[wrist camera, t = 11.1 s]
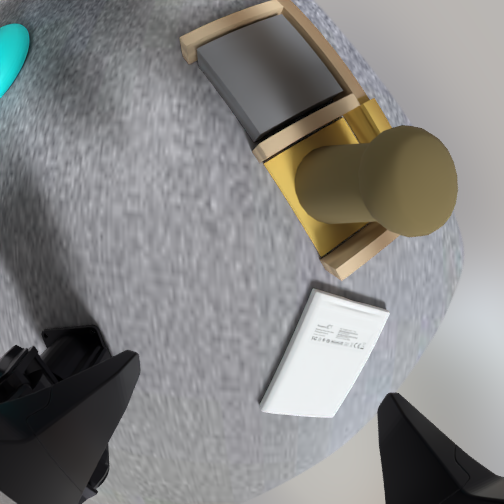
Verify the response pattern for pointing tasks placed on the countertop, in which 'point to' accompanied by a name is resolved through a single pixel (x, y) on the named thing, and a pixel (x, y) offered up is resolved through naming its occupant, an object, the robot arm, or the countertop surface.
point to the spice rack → (292, 107)
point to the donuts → (12, 53)
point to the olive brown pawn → (381, 182)
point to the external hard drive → (324, 356)
